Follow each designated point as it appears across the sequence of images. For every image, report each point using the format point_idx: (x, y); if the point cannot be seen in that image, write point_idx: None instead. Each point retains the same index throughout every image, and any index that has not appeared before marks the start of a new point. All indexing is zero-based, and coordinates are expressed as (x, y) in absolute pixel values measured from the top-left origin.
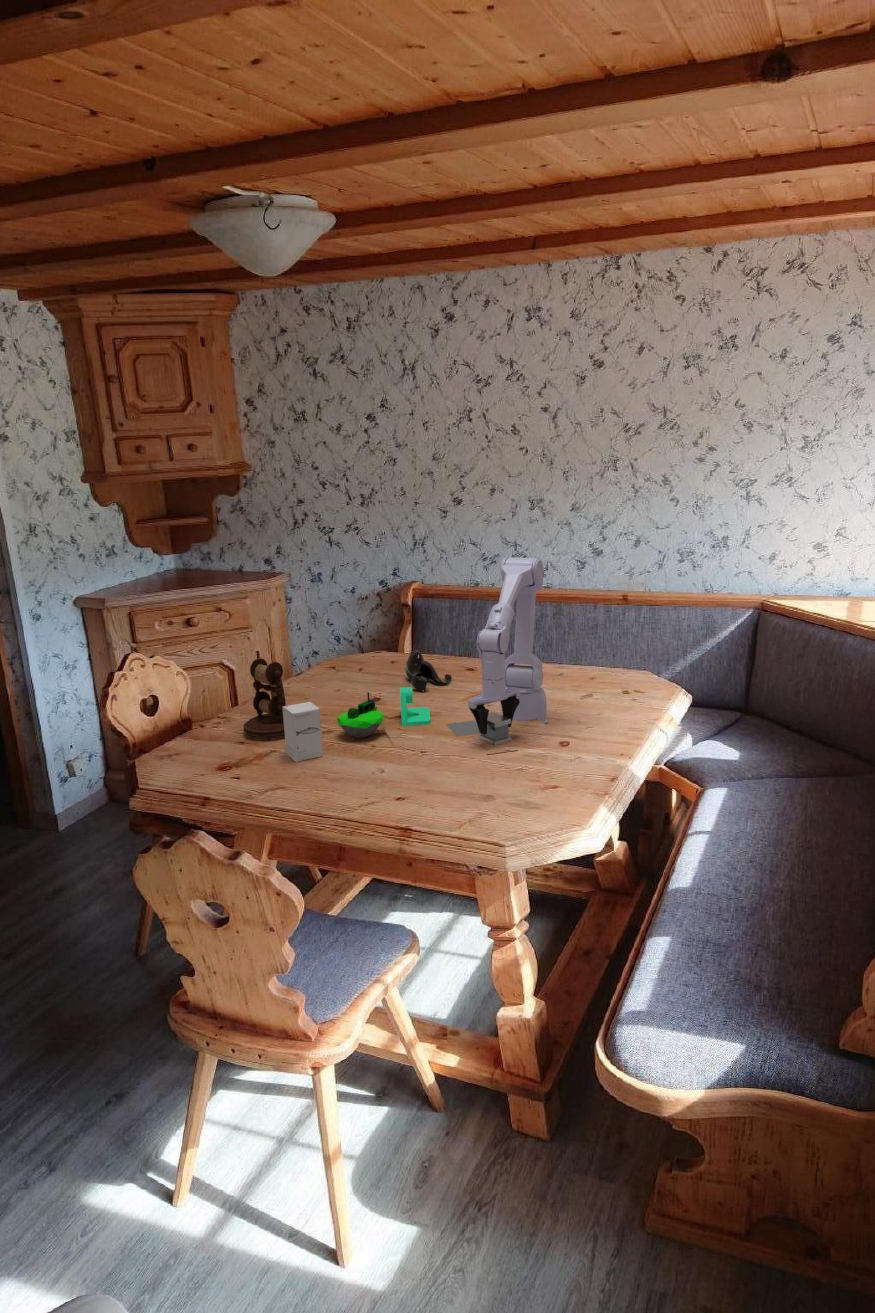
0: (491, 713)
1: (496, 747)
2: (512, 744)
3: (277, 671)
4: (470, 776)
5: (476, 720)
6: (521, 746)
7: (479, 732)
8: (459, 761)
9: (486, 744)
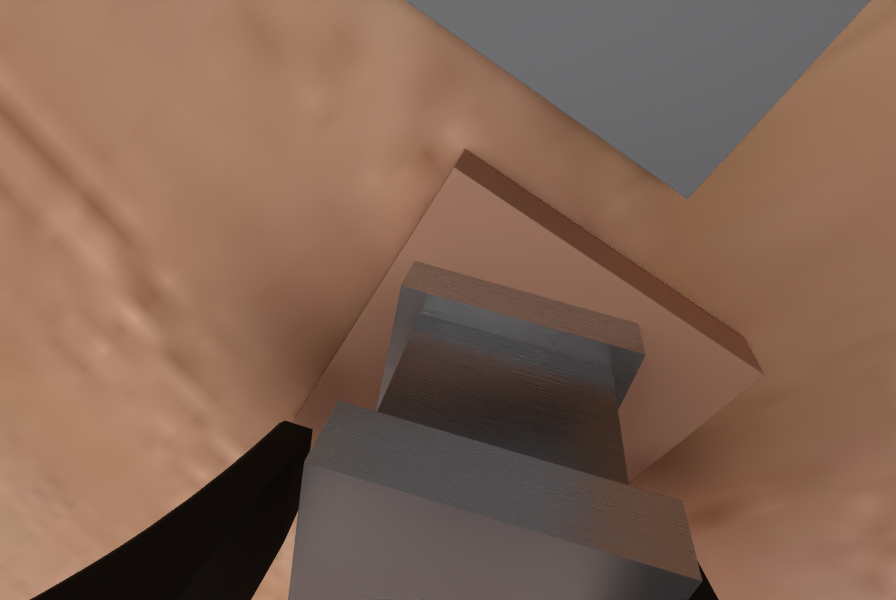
0: (605, 582)
1: None
2: None
3: None
4: (19, 488)
5: (150, 538)
6: None
7: (621, 130)
8: (72, 322)
9: (354, 402)
